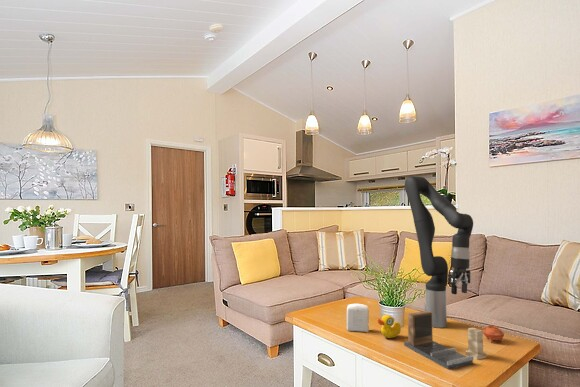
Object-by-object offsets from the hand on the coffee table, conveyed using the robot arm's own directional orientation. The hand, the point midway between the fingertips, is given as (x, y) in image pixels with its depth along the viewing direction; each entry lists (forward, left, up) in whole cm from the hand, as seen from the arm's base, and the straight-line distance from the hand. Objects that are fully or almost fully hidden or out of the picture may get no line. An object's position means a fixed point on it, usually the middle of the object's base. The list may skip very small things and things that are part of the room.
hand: (459, 293), depth 155 cm
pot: (+10, +8, -19) cm, 23 cm away
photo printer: (-23, -39, -19) cm, 49 cm away
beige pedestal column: (+18, -12, -19) cm, 29 cm away
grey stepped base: (+11, -25, -19) cm, 33 cm away
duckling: (-10, -31, -19) cm, 38 cm away
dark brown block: (+2, -25, -17) cm, 30 cm away
